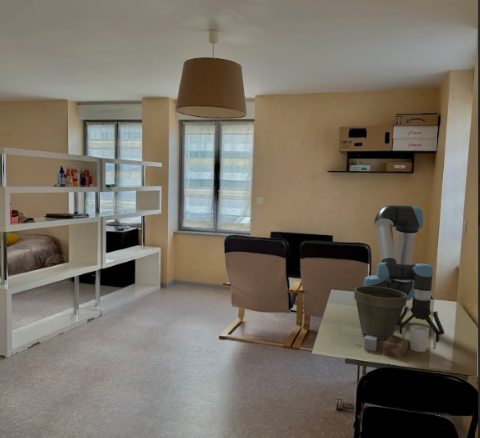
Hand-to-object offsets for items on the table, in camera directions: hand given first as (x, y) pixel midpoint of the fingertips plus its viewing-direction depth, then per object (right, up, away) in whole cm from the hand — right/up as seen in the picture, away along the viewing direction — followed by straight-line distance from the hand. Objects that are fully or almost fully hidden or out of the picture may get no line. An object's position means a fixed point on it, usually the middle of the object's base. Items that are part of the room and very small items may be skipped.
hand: (418, 345), depth 197 cm
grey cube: (-22, -1, -1) cm, 22 cm away
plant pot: (-12, -1, +19) cm, 23 cm away
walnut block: (-12, -2, -5) cm, 13 cm away
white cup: (0, -2, 0) cm, 2 cm away
